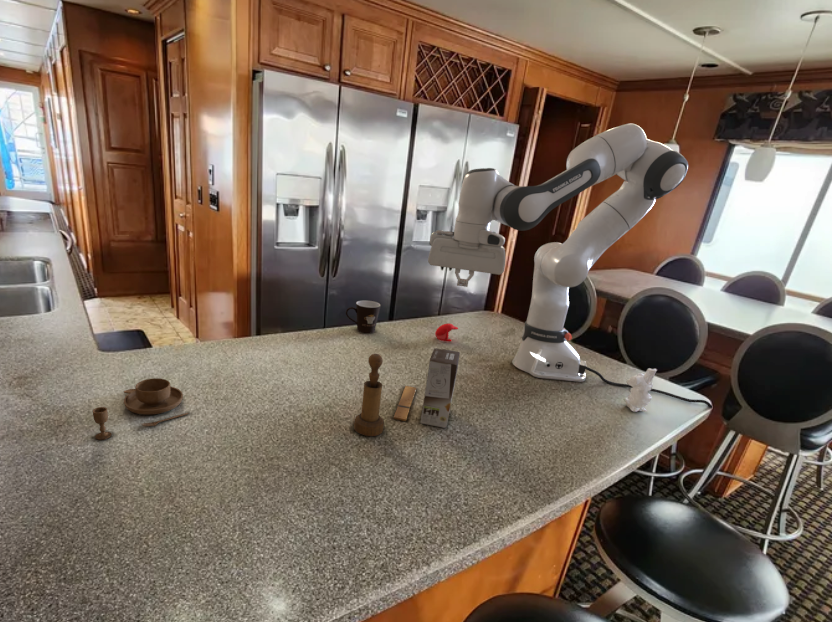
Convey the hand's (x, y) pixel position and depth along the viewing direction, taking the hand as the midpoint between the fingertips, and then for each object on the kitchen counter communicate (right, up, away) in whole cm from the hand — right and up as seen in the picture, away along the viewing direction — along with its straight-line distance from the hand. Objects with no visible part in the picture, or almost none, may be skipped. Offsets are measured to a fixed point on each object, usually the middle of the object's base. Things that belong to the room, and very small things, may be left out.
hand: (462, 285), depth 124 cm
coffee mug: (-29, -10, +41) cm, 51 cm away
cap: (+1, -14, +40) cm, 42 cm away
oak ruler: (-16, -31, -8) cm, 36 cm away
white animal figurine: (+48, -34, +2) cm, 59 cm away
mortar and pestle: (-25, -35, -22) cm, 48 cm away
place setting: (-76, -31, -24) cm, 85 cm away
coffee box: (-9, -34, -14) cm, 38 cm away
